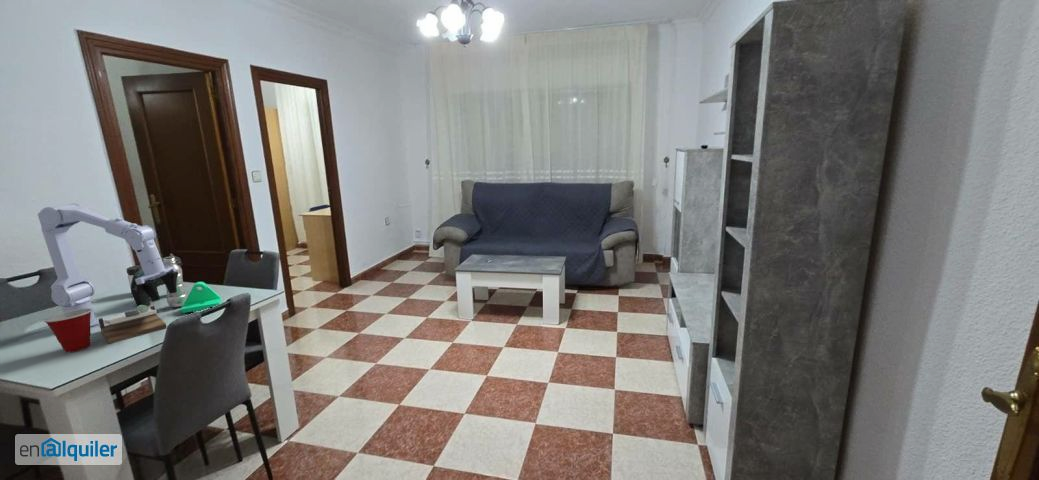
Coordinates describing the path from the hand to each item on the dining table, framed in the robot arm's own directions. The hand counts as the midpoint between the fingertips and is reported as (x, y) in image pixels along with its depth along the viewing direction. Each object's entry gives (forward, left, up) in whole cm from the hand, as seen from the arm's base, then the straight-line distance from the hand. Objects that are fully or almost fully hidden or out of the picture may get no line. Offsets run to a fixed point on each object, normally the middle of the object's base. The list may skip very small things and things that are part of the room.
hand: (165, 296), depth 149 cm
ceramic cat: (-34, +5, -11) cm, 36 cm away
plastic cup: (-1, -24, -11) cm, 26 cm away
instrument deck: (-5, -9, -6) cm, 12 cm away
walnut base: (-5, -9, -11) cm, 15 cm away
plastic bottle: (-19, +7, -11) cm, 23 cm away
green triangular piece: (-8, +12, -11) cm, 18 cm away
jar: (-51, +2, -11) cm, 52 cm away
